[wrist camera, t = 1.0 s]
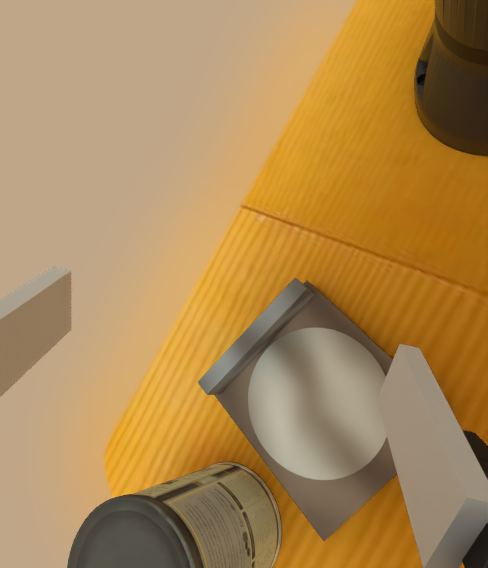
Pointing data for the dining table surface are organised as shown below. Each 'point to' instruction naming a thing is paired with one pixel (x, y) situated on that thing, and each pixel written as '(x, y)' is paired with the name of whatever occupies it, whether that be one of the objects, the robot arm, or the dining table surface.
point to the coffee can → (185, 524)
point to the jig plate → (310, 403)
